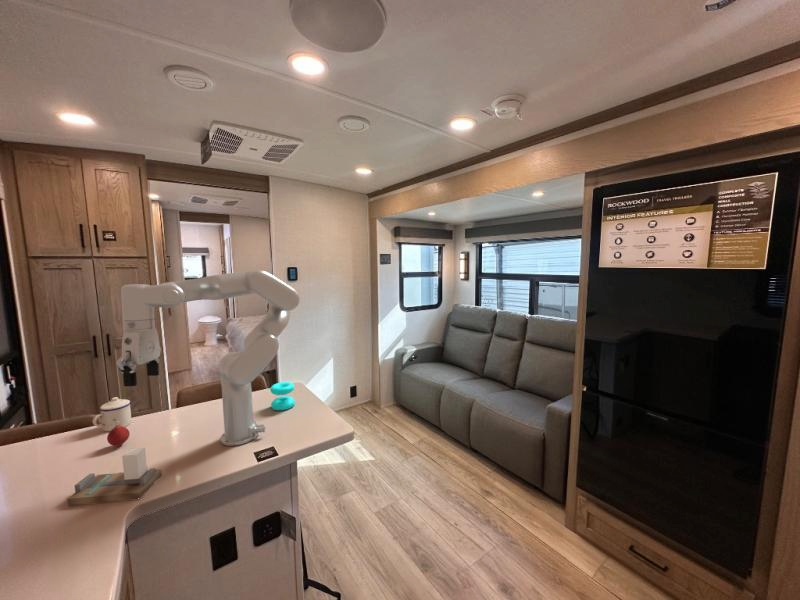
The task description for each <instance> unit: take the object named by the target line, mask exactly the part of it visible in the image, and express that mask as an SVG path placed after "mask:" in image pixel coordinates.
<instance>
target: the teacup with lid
mask: <svg viewBox="0 0 800 600" xmlns="http://www.w3.org/2000/svg"><path fill="white" fill-rule="evenodd" d="M131 404H132V403H131V401H130V400H129V399H123V398H119V397H118V396H115V397H112V398H111V400H109V401H108V402H105V403H104V404H102V405H101V406H100V407H99V410H100V413H99V414H96V415H95V416H94V417H93V418H92V424H93V426H94V427H97V428H102V431H104V432H110V431H111V430H112V429H113V428H114V427H115V426H116V425H117V424H120V426H122V427H125V428H127V427H129V426H130V425H131V424H132V414H131V413H132V412H131ZM99 418H101V424H98V422H97V419H99ZM129 419H130V420H129ZM118 421H119V422H118ZM128 425H129V426H128ZM126 426H127V427H126Z"/></svg>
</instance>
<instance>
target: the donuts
mask: <svg viewBox="0 0 800 600" xmlns="http://www.w3.org/2000/svg"><path fill="white" fill-rule="evenodd" d="M294 390H295V384H294V383H292V382H290V381H284V382H283V381H282V382H278V383H275V384H272V385H271V387H270V390H269V392H270V393H271V394H272V395H275V396H278V397H276V398H275V399H274V400H273V401H272V402H271V403H270V404H271V405H270V406H271V408H272V409H273V410H275V411H285V410H289V409H291V408H293V407H294V406H295V404H296V401H295V399H294V397H292V396H287V395H288V394H291V393H292V392H293V391H294Z"/></svg>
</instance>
